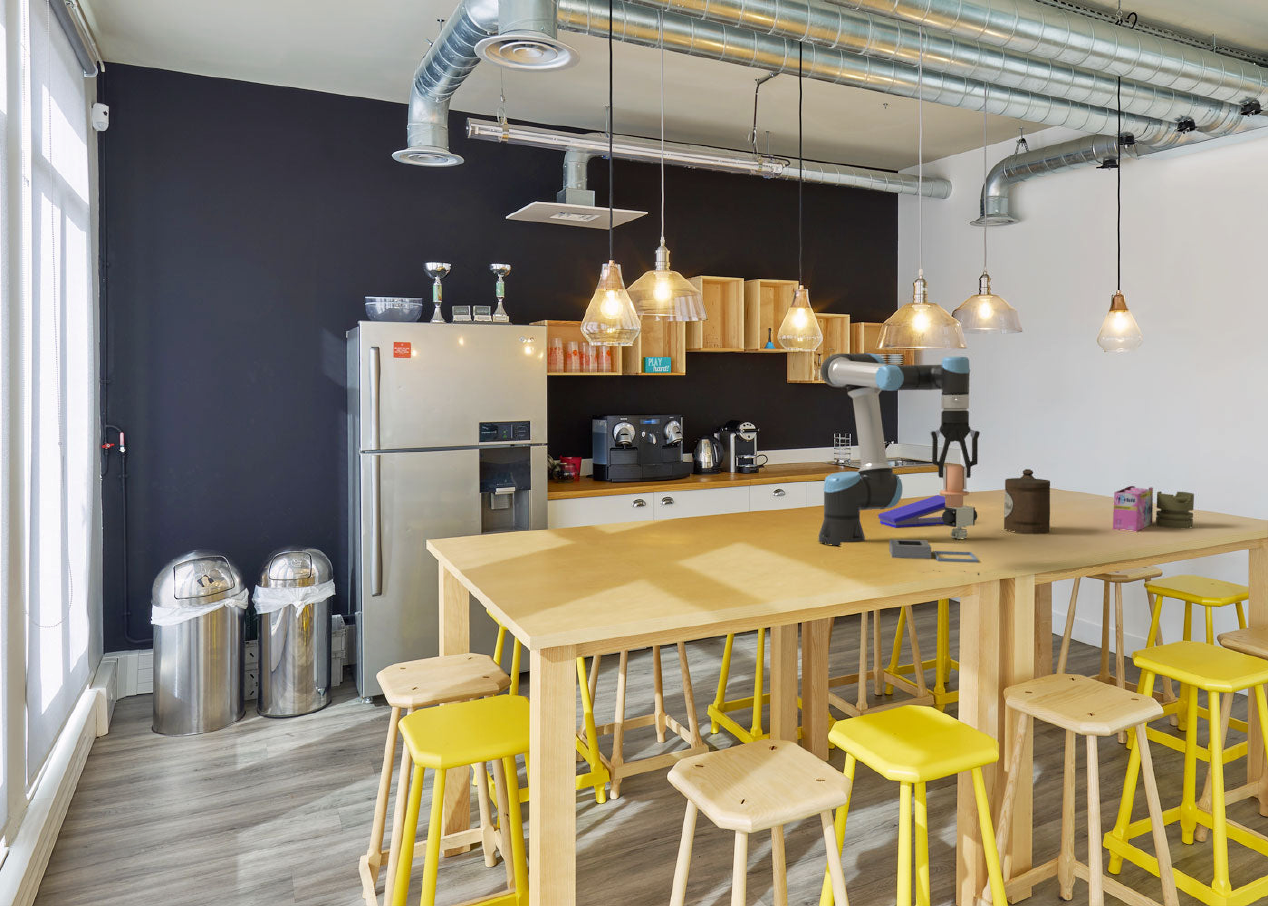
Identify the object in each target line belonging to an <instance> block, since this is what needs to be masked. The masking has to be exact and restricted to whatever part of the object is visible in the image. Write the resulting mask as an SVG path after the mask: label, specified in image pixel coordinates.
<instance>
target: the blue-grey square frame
mask: <svg viewBox="0 0 1268 906" xmlns="http://www.w3.org/2000/svg"><path fill="white" fill-rule="evenodd" d="M932 555H933V557H935V560H937V562H947V563H948V562H949V563H950V562H951V563H952V562H953V563H956V562H957V563H979V559H978V558H977V557H976V555H975V554H973V552H972V551H952V550H950V551H948V550H947V551H946V550H932ZM938 555H949V556H950V555H954V556H957V555H959V556H970V557H971V558H951V557H950V558H949V557H948V558H947V557H946V558H944V557H943V558H942V557H939V556H938Z"/></svg>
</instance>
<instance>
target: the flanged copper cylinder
mask: <svg viewBox="0 0 1268 906" xmlns="http://www.w3.org/2000/svg"><path fill="white" fill-rule="evenodd" d="M945 467H946V489H942V490H939V495H940V496H944V497H945V507H953V508H959V507H963V506H964V496H969V495H970V492H969V491H968V490H964V489H963V476H964V467H965V466H964V465H962V464H961V465H960V464H959V465H958V464H948V465H945Z"/></svg>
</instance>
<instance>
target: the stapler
mask: <svg viewBox="0 0 1268 906" xmlns="http://www.w3.org/2000/svg"><path fill="white" fill-rule="evenodd" d="M944 510H945V495H940V494H938V495H937V494H936V495H933V496H931V497H930V496H929V497H928V498H924V499H921V500H919V501H915V502H911V503H910V504H905V505H902V506H899V507H897V508H893V509H891V510H887V511H884V512H880V513H878V514H877V516H878V519H879V524H880V523H881V525H883V524H884V525H883V526H888V527H891V528H895V529H898V528H911V527H925V526H926V525H927V526H937V525H936V524H941V525H944V524H945V523H944V522H943V520H942V516H933V517H926V516H929V515H932V514H935V513H938V512H941V511H944Z"/></svg>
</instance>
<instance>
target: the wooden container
mask: <svg viewBox="0 0 1268 906" xmlns="http://www.w3.org/2000/svg"><path fill="white" fill-rule="evenodd" d="M1033 474H1034V472H1033V470H1031V469H1029V468H1027V469H1025V468H1024V470H1023V471H1022V475H1021V477H1012V478H1010V477H1009V478H1006V479H1005V480H1004V487H1005V489H1004V507H1003V514H1004V515H1003V518H1004V519H1003V529H1004V530H1005V529H1007V530H1010V531H1015V532H1021V533H1020V534H1024V533H1043V534H1047V533H1046V532H1048V533H1050V530H1051V529H1050V528H1051V527H1050V526H1051V525H1050V524H1051V523H1050V522H1051V490H1050V489H1051V481H1050V480H1048V479H1043V478H1035V477H1034V476H1033ZM1010 531H1009V532H1010ZM1015 532H1014V533H1015Z"/></svg>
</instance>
